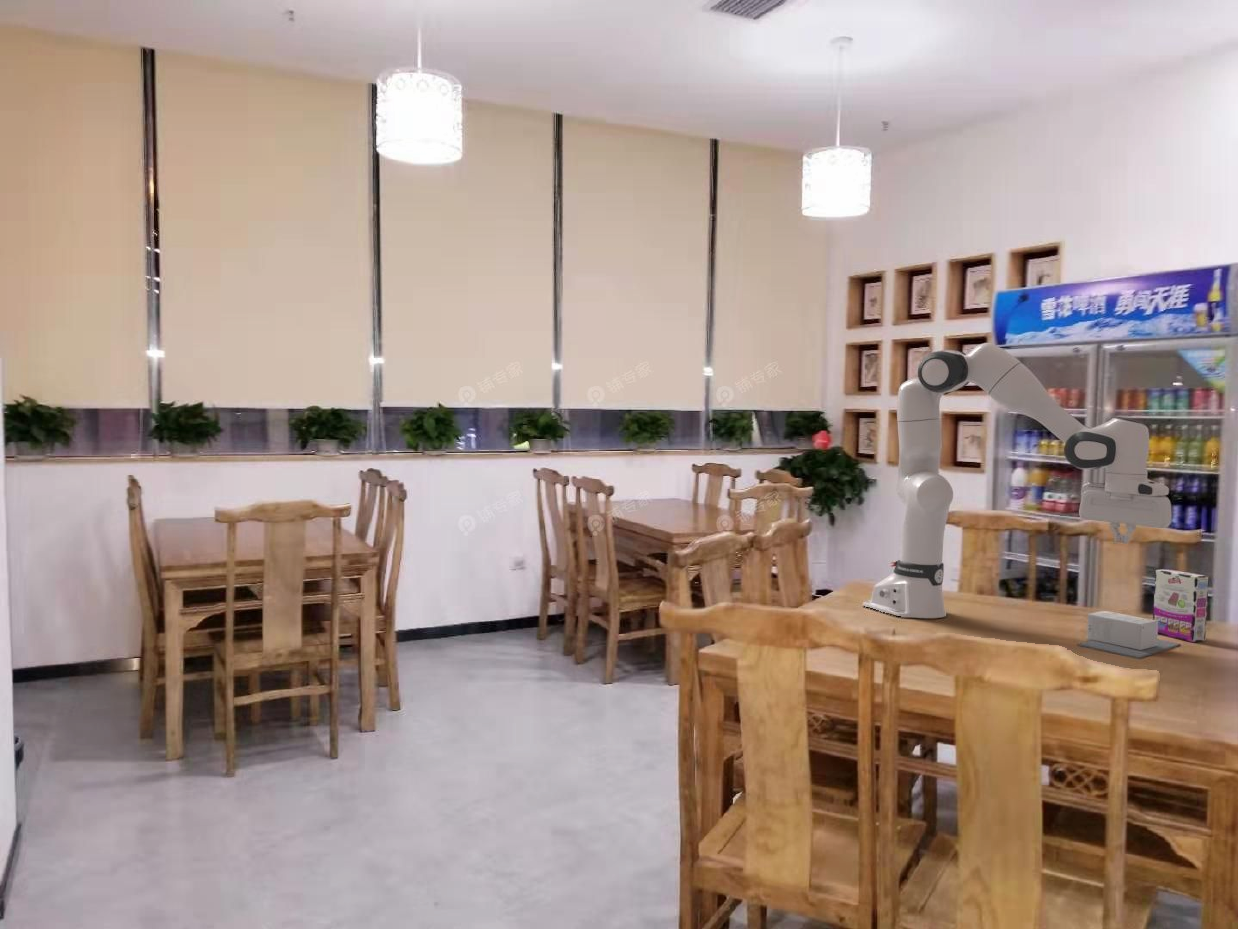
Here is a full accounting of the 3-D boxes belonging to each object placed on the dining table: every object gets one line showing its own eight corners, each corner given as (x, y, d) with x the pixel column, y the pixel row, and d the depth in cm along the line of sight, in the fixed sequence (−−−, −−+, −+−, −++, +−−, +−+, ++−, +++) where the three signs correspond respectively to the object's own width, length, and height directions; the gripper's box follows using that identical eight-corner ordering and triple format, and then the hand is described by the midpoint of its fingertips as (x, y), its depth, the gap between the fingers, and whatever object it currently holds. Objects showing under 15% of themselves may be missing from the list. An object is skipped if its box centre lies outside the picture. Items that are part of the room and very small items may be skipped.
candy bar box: (1206, 641, 230) (1210, 575, 229) (1192, 643, 228) (1196, 576, 227) (1164, 631, 240) (1168, 568, 239) (1150, 632, 238) (1154, 569, 237)
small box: (1085, 639, 228) (1140, 650, 217) (1087, 613, 228) (1141, 623, 217) (1103, 635, 233) (1157, 646, 222) (1104, 610, 232) (1159, 620, 222)
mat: (1077, 645, 223) (1077, 643, 223) (1120, 633, 236) (1120, 631, 236) (1138, 658, 212) (1138, 657, 212) (1180, 645, 225) (1180, 643, 225)
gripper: (1076, 482, 230) (1072, 537, 231) (1164, 489, 214) (1160, 549, 215) (1088, 481, 234) (1085, 535, 235) (1176, 488, 218) (1172, 547, 219)
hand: (1121, 542), depth 225 cm, fingers closed
